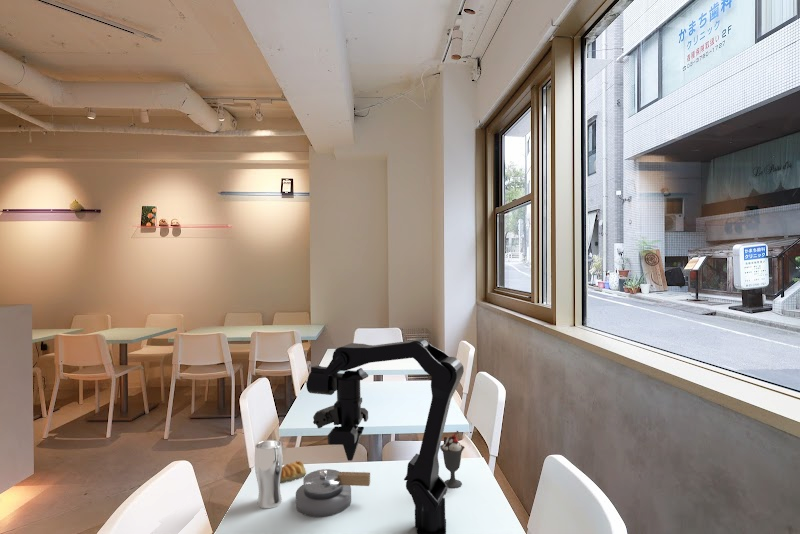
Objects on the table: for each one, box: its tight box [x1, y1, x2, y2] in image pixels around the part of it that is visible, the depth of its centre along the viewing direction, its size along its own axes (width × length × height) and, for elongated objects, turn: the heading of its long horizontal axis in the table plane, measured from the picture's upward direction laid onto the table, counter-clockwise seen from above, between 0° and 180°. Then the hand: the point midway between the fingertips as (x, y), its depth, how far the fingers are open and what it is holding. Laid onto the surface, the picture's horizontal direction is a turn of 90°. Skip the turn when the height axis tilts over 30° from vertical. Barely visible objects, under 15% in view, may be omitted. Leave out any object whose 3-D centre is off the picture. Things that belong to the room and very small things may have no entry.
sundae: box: [439, 430, 465, 489], centre depth 128 cm, size 7×7×15 cm
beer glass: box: [254, 439, 284, 510], centre depth 120 cm, size 7×7×15 cm
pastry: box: [280, 460, 307, 483], centre depth 135 cm, size 9×7×4 cm
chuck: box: [302, 468, 371, 499], centre depth 119 cm, size 17×10×5 cm, turn 84°
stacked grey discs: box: [295, 484, 352, 518], centre depth 120 cm, size 14×14×3 cm
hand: (350, 460), depth 114 cm, fingers closed
